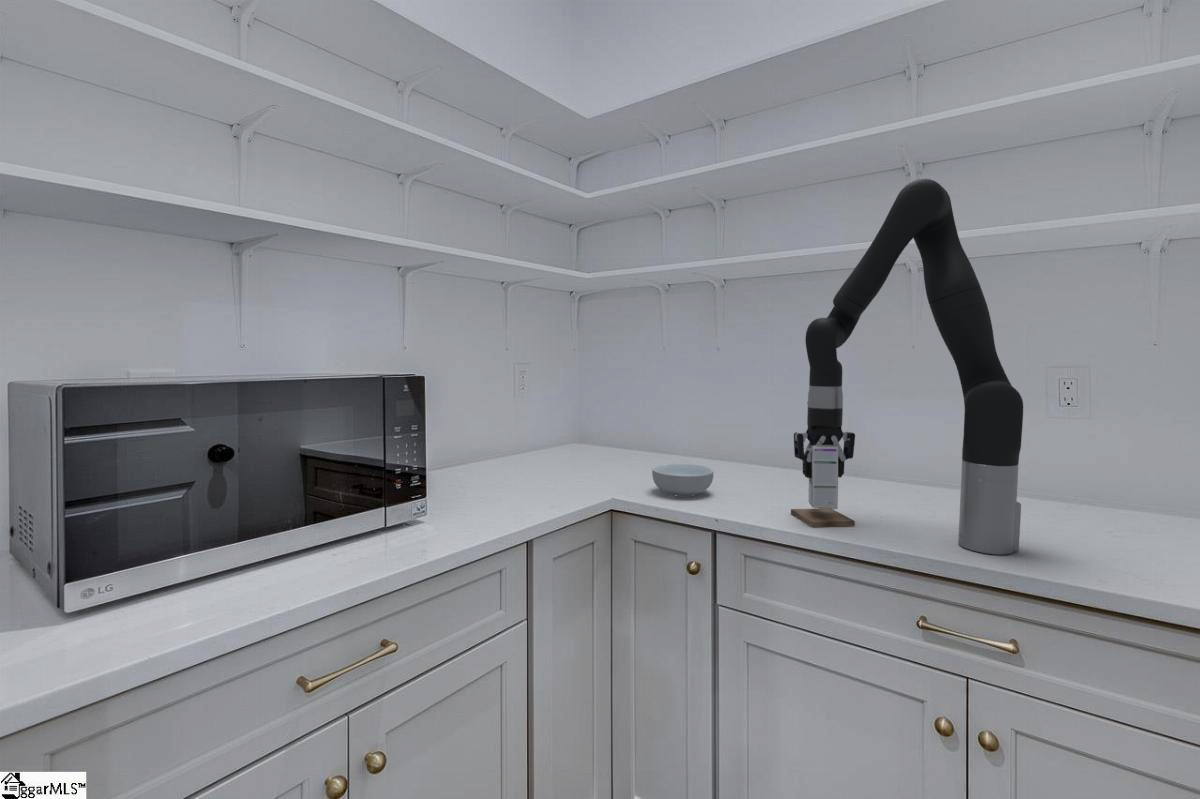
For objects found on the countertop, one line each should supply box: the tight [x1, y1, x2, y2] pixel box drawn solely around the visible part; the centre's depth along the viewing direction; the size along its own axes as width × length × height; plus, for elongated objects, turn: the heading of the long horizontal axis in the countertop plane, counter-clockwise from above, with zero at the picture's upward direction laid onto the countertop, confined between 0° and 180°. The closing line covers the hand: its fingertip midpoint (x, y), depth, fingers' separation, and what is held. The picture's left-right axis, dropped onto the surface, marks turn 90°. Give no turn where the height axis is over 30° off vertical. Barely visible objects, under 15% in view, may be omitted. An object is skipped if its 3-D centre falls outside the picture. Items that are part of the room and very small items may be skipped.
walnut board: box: [790, 508, 856, 528], centre depth 134 cm, size 10×11×1 cm
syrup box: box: [808, 445, 839, 510], centre depth 133 cm, size 6×6×14 cm
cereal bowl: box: [651, 462, 714, 497], centre depth 160 cm, size 17×17×7 cm
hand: (823, 476), depth 133 cm, fingers closed on syrup box, 6 cm apart
